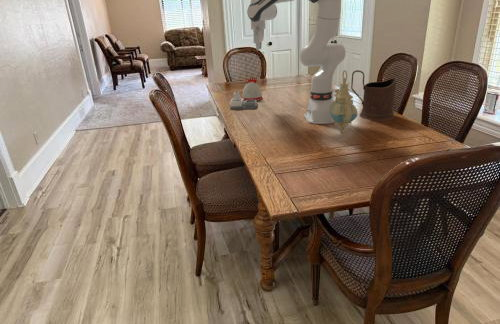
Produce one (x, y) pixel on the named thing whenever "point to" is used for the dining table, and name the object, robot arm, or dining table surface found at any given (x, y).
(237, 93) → the cell
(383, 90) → the brown pitcher
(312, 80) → the robot arm
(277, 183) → the dining table surface
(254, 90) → the kitchen timer
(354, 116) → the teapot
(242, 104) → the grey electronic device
